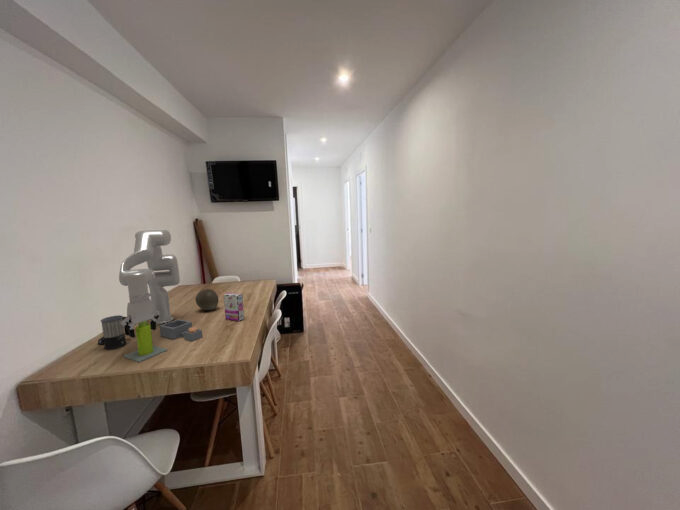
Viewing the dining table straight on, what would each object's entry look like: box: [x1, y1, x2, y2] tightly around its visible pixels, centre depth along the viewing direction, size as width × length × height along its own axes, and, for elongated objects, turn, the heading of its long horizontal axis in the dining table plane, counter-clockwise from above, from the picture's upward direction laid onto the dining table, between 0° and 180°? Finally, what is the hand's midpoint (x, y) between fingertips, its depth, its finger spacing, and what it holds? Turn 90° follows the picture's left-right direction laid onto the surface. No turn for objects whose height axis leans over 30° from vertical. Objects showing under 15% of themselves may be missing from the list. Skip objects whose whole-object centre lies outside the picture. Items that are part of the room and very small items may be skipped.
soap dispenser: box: [135, 321, 153, 355], centre depth 140 cm, size 6×7×20 cm
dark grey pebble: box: [195, 288, 219, 311], centre depth 206 cm, size 14×14×15 cm
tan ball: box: [188, 326, 198, 333], centre depth 158 cm, size 4×4×3 cm
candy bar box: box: [223, 292, 245, 322], centre depth 186 cm, size 11×5×16 cm, turn 68°
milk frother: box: [97, 314, 129, 351], centre depth 152 cm, size 14×16×15 cm
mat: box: [122, 345, 168, 363], centre depth 141 cm, size 13×13×1 cm
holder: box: [159, 318, 203, 342], centre depth 162 cm, size 23×11×6 cm, turn 63°
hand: (143, 333), depth 140 cm, fingers open, 9 cm apart
